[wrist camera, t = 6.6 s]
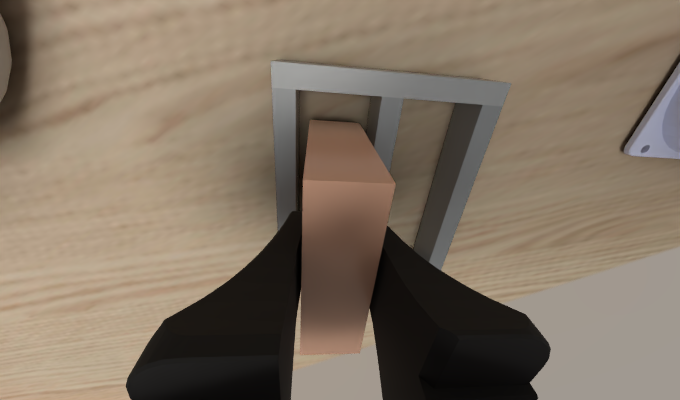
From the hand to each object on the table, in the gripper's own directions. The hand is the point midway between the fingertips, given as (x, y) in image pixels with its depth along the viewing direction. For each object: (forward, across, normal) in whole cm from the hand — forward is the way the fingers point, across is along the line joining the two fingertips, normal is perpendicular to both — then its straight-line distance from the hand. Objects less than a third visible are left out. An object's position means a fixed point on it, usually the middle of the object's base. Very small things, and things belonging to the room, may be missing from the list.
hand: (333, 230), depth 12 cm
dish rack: (+5, -2, 0) cm, 6 cm away
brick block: (+4, 0, 0) cm, 4 cm away
